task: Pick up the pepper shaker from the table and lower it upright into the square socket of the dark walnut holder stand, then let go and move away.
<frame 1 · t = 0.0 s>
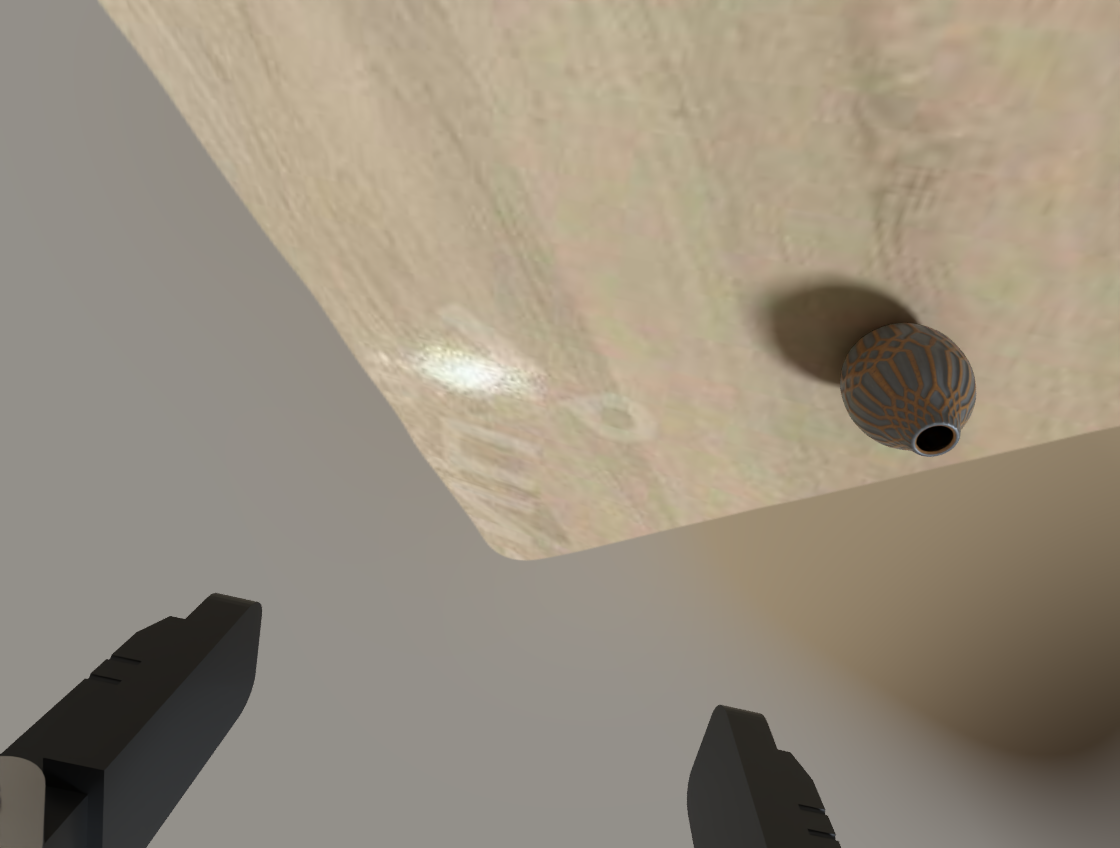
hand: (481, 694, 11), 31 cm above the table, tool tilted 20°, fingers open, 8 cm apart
vase: (886, 353, 41), on the table
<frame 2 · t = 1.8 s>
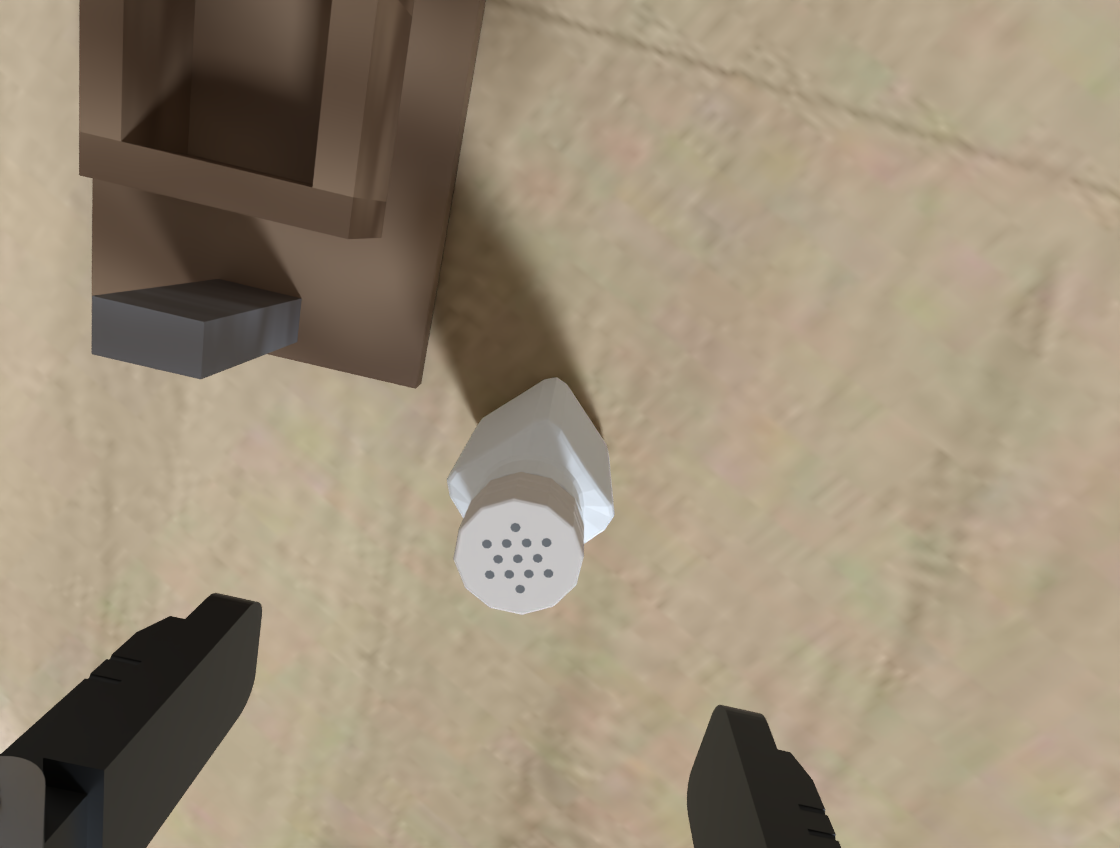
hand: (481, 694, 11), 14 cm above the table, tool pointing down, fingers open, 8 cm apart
pepper shaker: (543, 435, 25), on the table
shaker holder: (288, 88, 21), on the table
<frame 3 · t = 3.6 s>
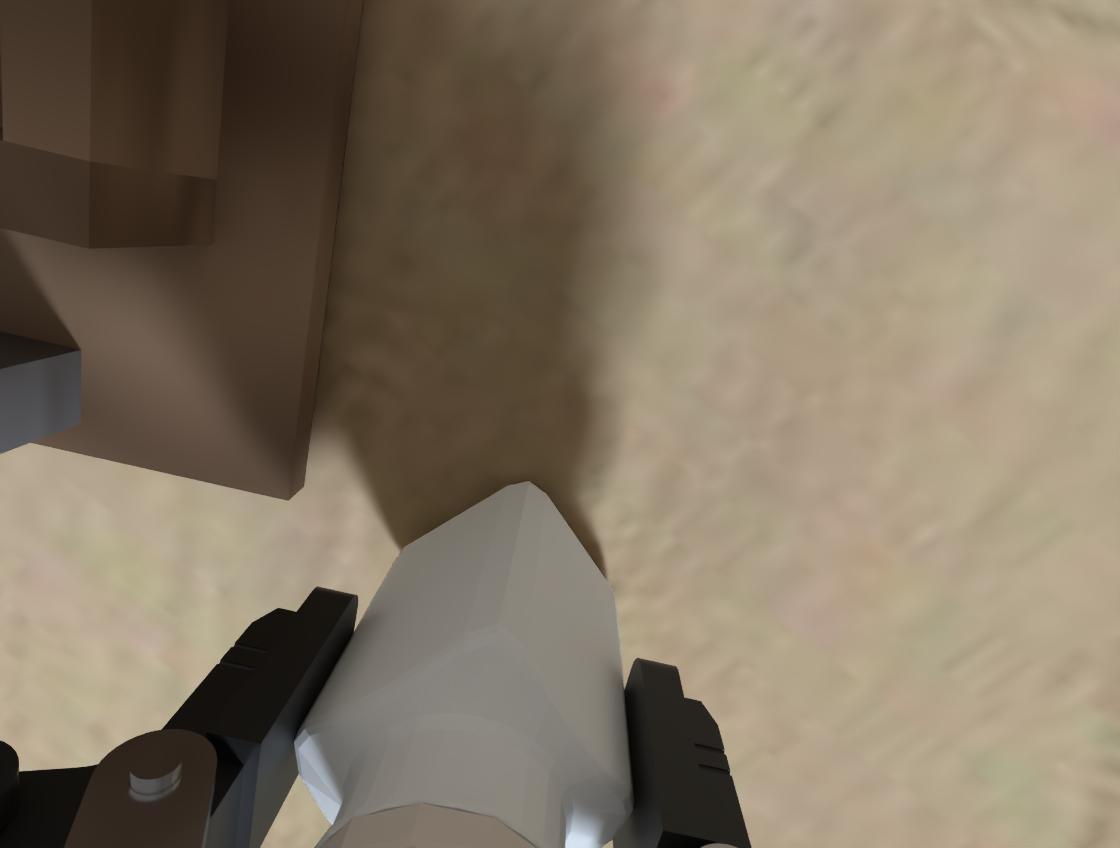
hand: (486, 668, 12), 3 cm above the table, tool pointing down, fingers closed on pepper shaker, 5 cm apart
pepper shaker: (510, 567, 15), on the table, touching gripper
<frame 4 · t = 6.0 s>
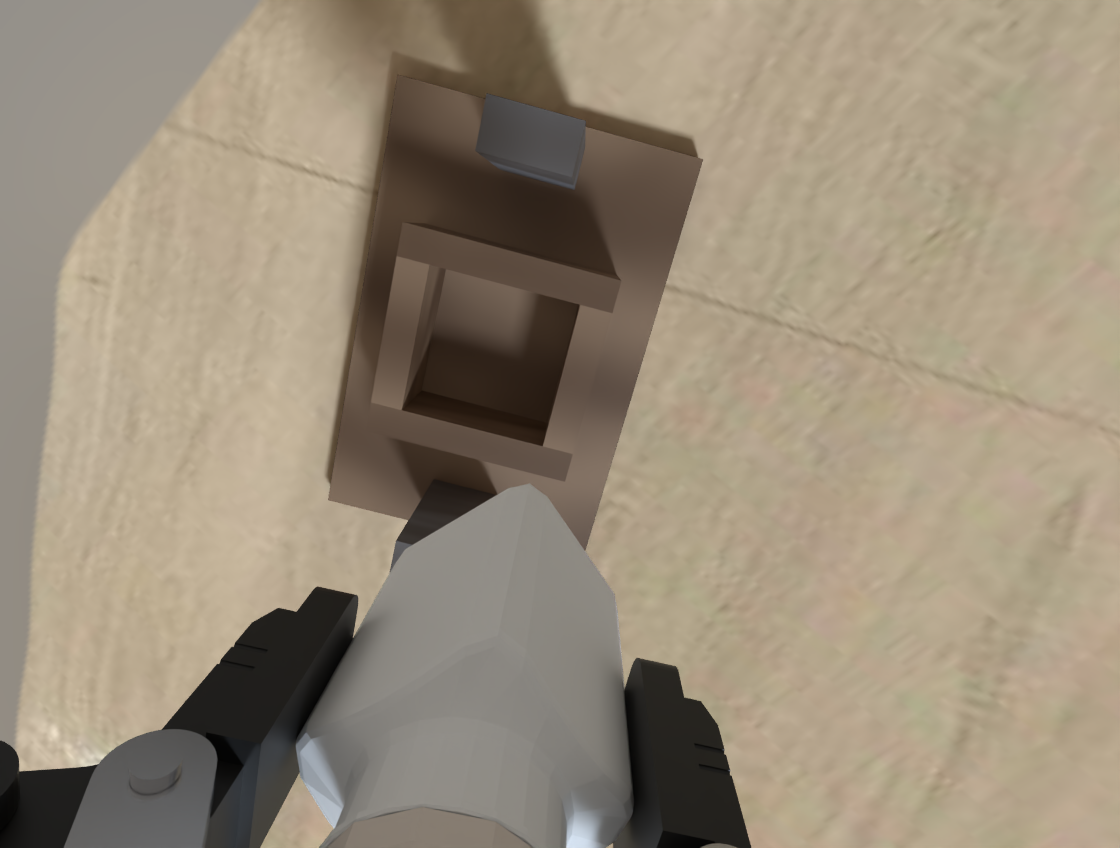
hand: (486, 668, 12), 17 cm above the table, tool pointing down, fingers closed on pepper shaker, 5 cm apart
pepper shaker: (510, 569, 15), point 14 cm above the table, touching gripper
shaker holder: (501, 341, 28), on the table
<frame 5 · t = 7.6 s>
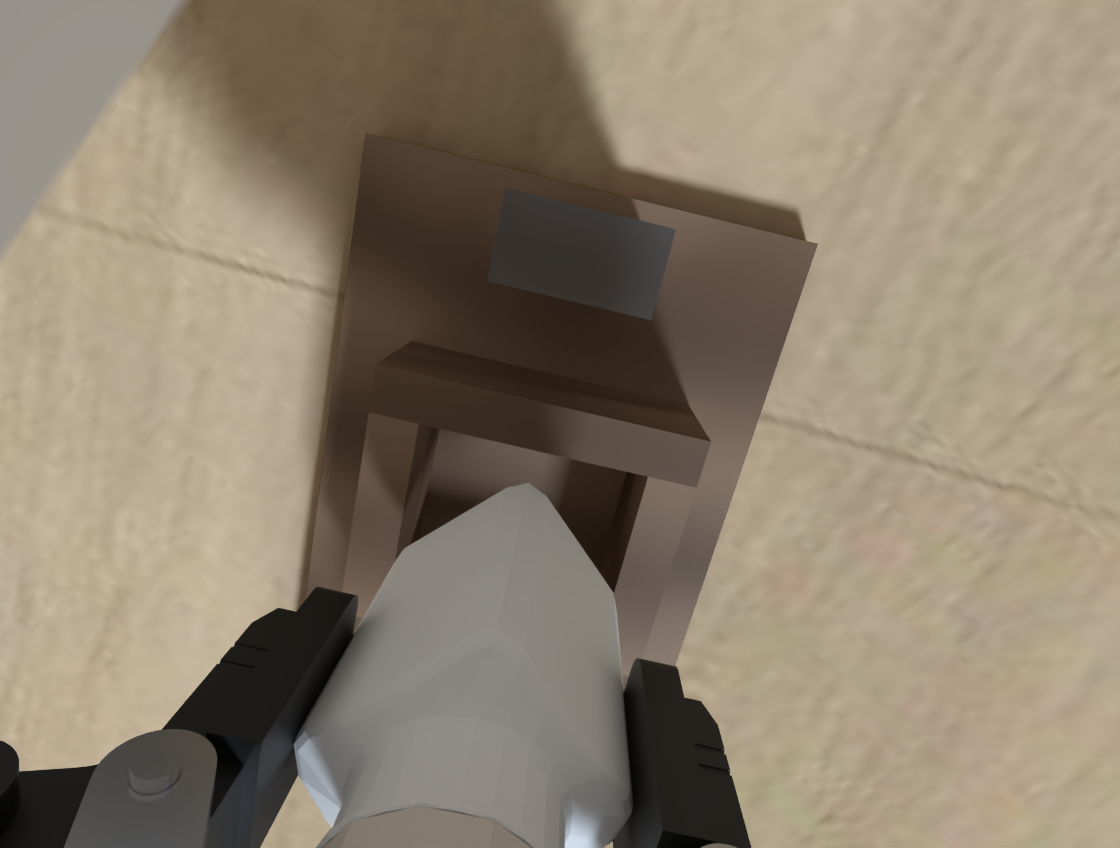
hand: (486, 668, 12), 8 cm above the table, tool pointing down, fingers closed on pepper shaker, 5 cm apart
pepper shaker: (509, 569, 15), point 5 cm above the table, touching gripper
shaker holder: (524, 491, 20), on the table
when the fingers open (5 cm above the table, at t = 8.7 s): pepper shaker stays where it is, resting on shaker holder.
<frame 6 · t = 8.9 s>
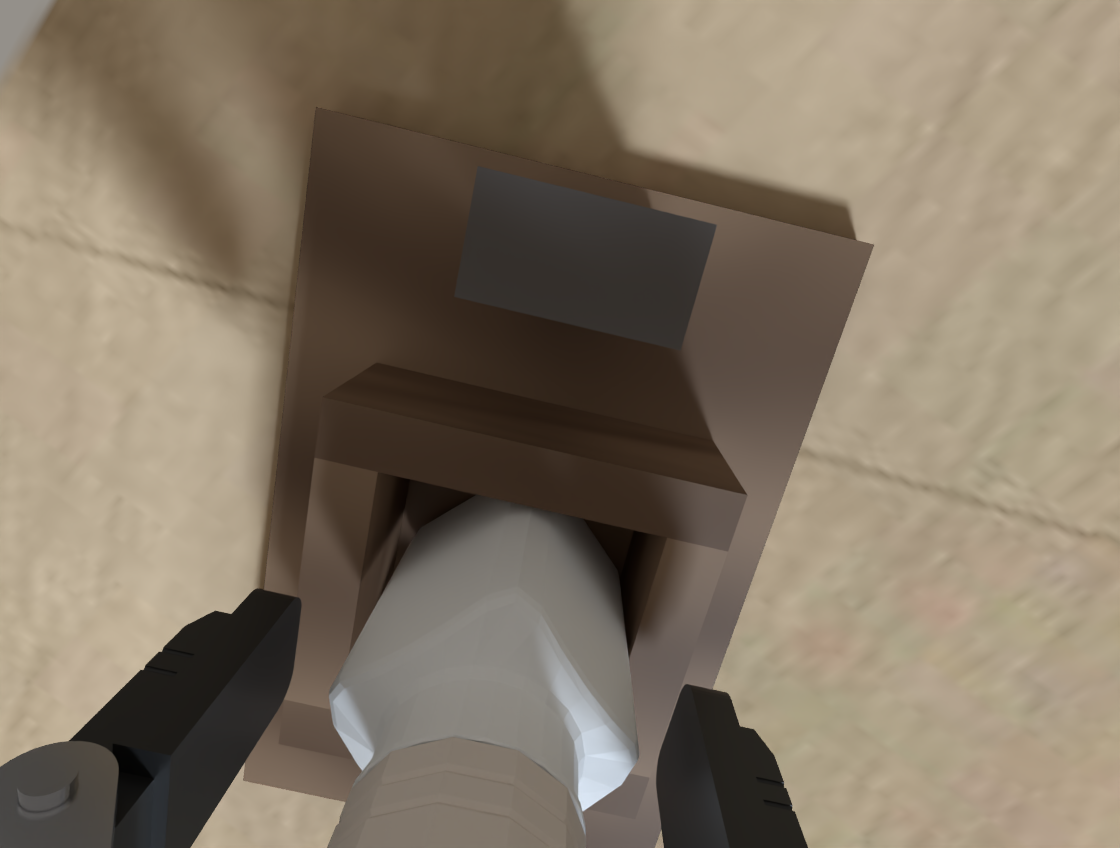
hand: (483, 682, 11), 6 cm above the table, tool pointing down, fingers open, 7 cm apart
pepper shaker: (519, 548, 16), point 1 cm above the table, touching shaker holder
shaker holder: (514, 538, 17), on the table
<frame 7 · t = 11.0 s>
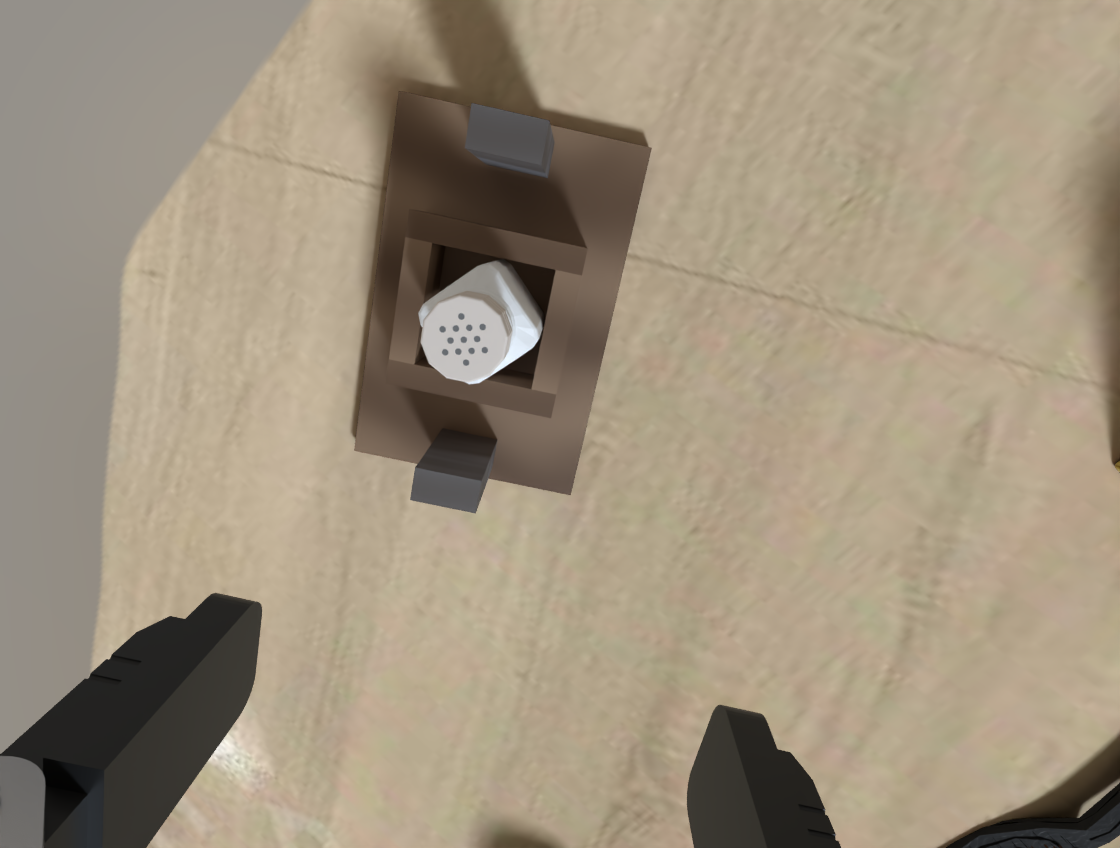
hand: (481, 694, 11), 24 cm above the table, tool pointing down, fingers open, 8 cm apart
pepper shaker: (496, 309, 32), point 1 cm above the table, touching shaker holder
hairbrush: (1038, 823, 42), on the table
shaker holder: (494, 308, 33), on the table
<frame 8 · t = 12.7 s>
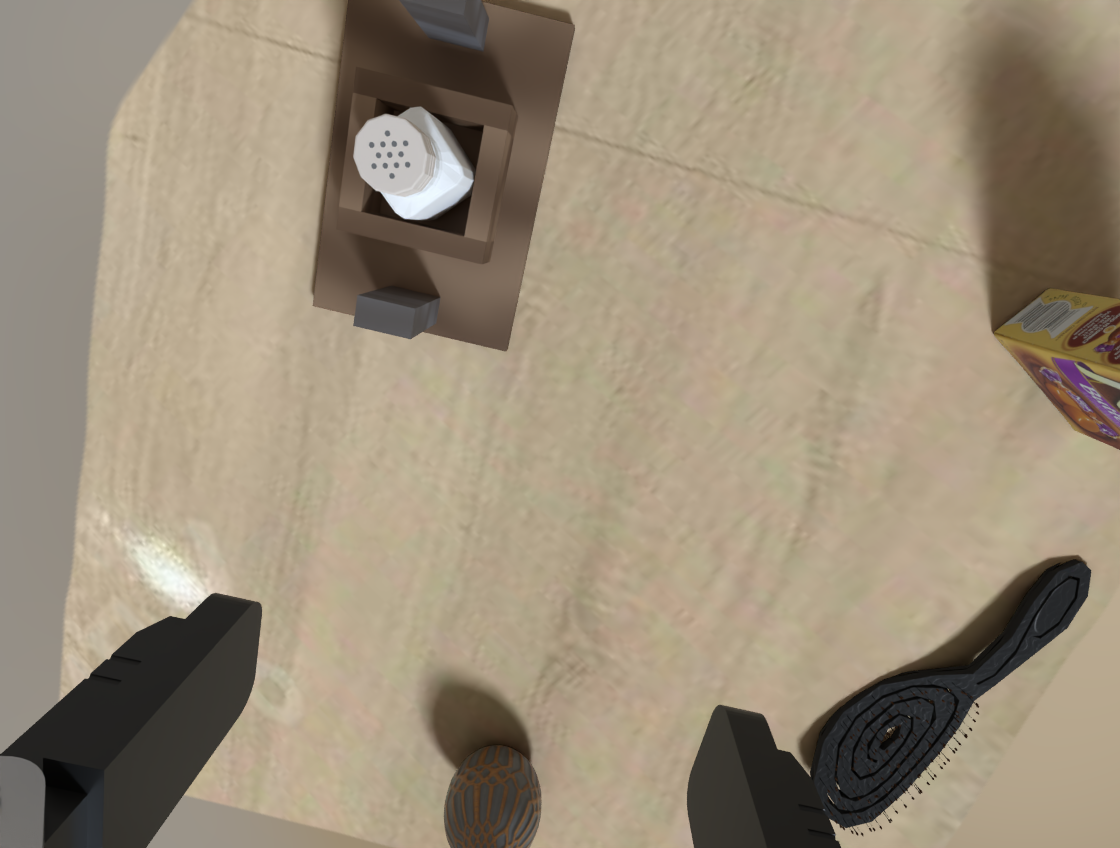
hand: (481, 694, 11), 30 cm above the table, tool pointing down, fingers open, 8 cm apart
vase: (499, 763, 49), on the table
pepper shaker: (439, 174, 36), point 1 cm above the table, touching shaker holder
hairbrush: (936, 678, 46), on the table
candy box: (1055, 362, 39), on the table
shaker holder: (438, 175, 37), on the table
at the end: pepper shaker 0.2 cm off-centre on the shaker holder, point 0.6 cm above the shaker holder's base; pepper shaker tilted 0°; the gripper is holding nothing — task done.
